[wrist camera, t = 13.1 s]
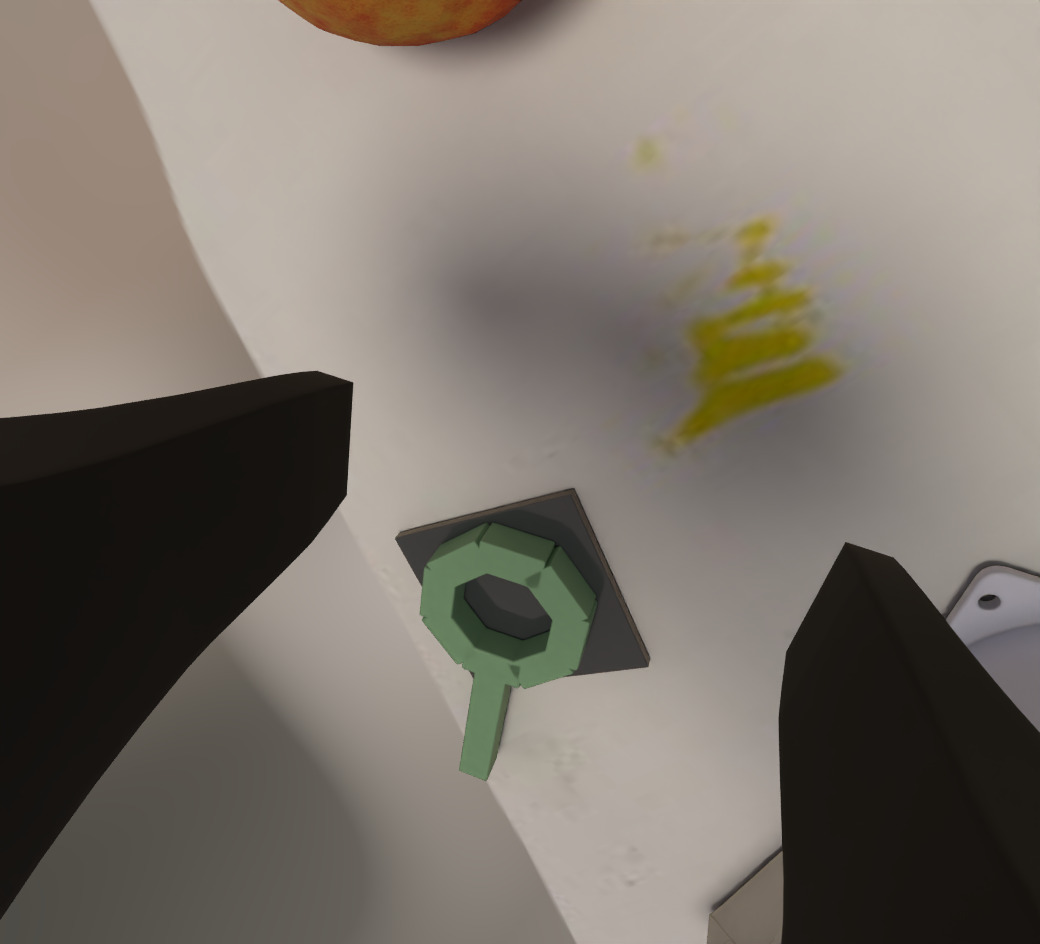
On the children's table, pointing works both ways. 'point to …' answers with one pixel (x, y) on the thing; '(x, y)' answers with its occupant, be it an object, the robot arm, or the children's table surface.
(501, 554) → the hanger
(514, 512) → the coaster
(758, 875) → the light bulb box
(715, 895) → the children's table surface
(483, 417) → the children's table surface
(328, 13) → the fruit
